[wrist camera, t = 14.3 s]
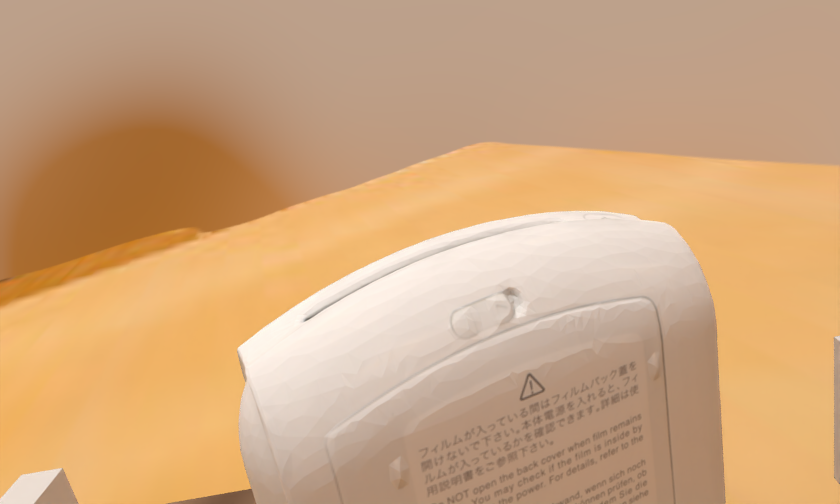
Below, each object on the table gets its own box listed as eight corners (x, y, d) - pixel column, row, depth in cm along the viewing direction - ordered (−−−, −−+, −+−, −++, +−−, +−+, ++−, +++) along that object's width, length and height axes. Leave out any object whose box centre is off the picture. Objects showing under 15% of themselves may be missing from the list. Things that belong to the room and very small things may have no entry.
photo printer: (648, 552, 21) (603, 159, 17) (766, 661, 17) (744, 183, 13) (330, 724, 17) (181, 291, 14) (384, 907, 14) (199, 375, 10)
